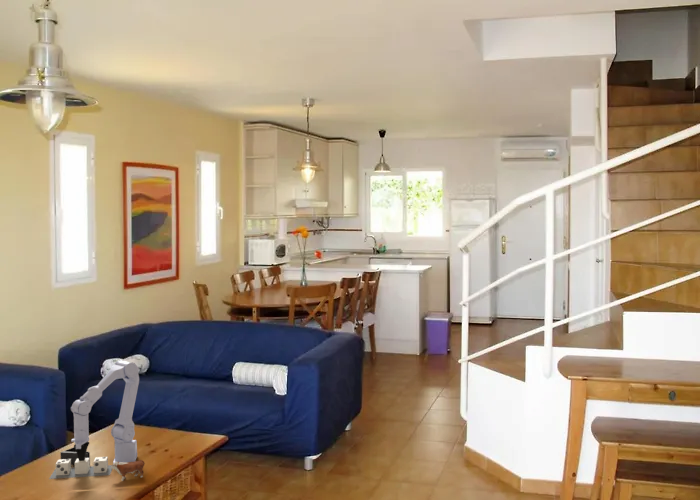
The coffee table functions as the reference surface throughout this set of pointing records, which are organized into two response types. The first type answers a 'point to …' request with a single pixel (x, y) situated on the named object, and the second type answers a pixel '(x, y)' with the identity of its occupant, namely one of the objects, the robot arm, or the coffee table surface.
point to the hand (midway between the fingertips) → (82, 460)
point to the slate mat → (72, 474)
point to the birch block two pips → (100, 464)
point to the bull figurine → (129, 468)
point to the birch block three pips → (63, 467)
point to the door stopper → (72, 455)
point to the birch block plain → (82, 466)
